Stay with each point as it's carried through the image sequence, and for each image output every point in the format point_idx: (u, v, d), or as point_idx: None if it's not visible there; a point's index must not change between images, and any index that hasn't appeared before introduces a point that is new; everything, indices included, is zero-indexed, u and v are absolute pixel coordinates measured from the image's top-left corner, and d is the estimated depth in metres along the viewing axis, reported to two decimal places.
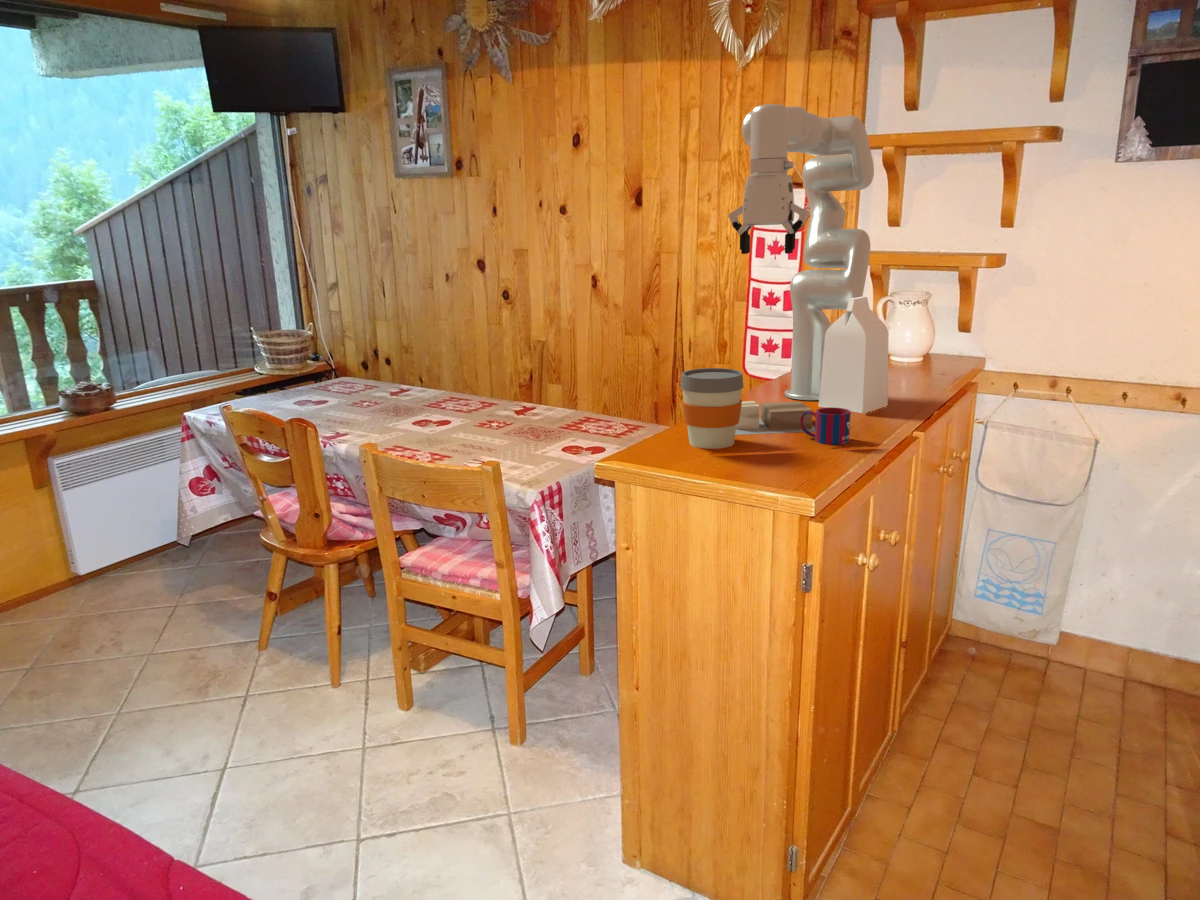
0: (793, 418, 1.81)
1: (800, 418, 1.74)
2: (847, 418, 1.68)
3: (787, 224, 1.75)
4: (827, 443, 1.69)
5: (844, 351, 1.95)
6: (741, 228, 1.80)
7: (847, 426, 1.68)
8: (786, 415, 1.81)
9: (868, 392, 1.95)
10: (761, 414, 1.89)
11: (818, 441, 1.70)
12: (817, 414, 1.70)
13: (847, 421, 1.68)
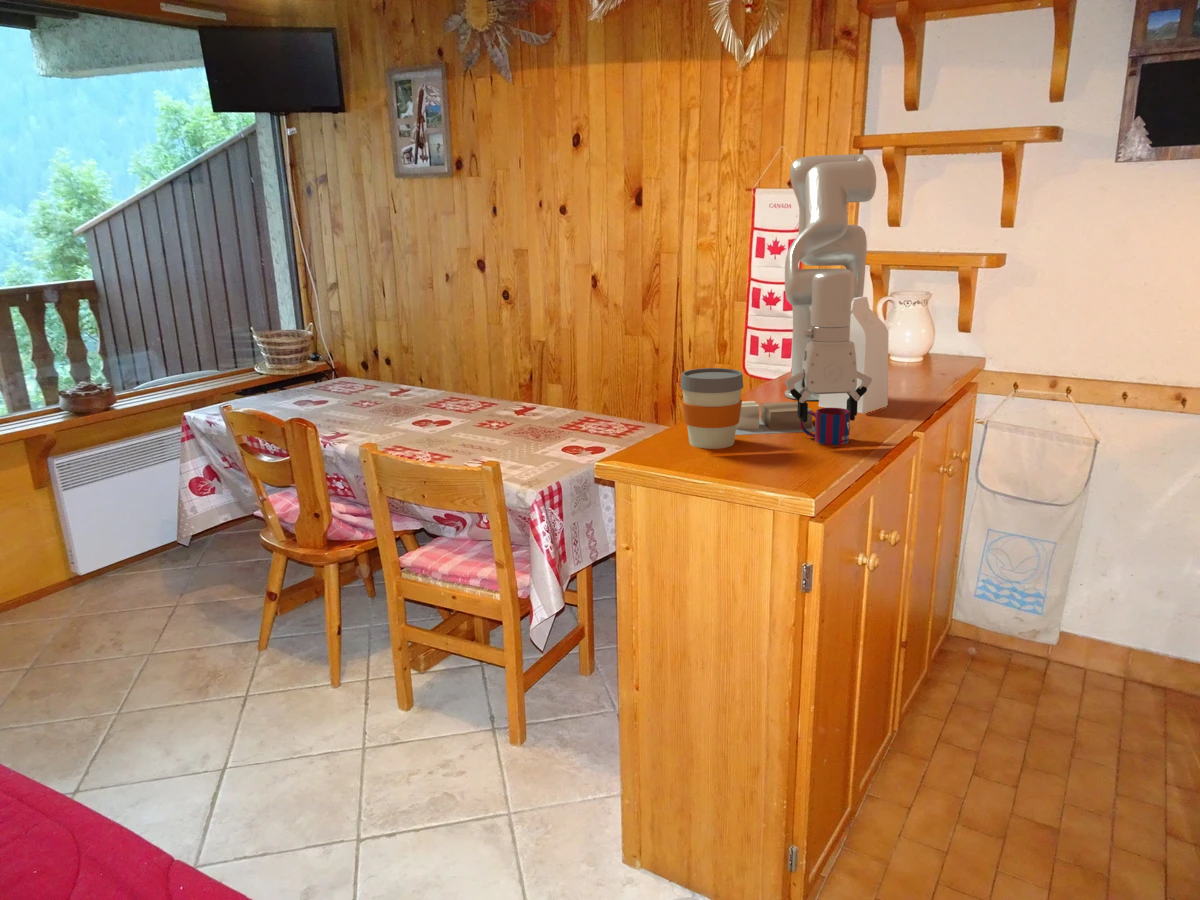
0: (793, 418, 1.81)
1: None
2: (847, 418, 1.68)
3: None
4: (826, 443, 1.69)
5: None
6: None
7: (847, 426, 1.68)
8: (786, 415, 1.81)
9: (868, 392, 1.95)
10: (761, 414, 1.89)
11: (818, 441, 1.70)
12: (817, 414, 1.70)
13: (847, 421, 1.68)
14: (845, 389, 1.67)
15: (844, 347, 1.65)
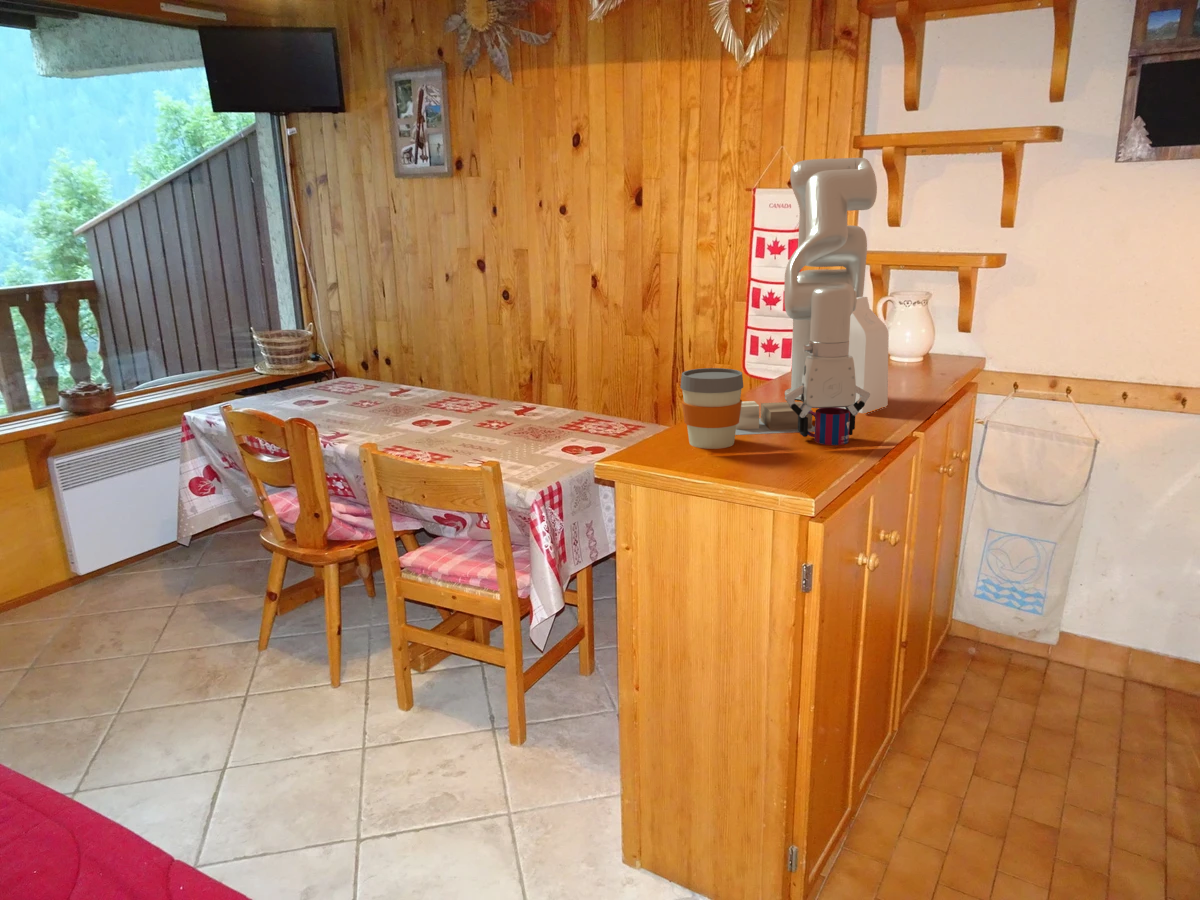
0: (793, 418, 1.81)
1: None
2: (847, 418, 1.68)
3: None
4: (826, 443, 1.69)
5: None
6: None
7: (847, 426, 1.68)
8: (786, 415, 1.81)
9: (868, 392, 1.95)
10: (761, 414, 1.89)
11: (818, 441, 1.70)
12: (817, 414, 1.70)
13: (847, 421, 1.68)
14: (844, 403, 1.68)
15: (843, 362, 1.66)
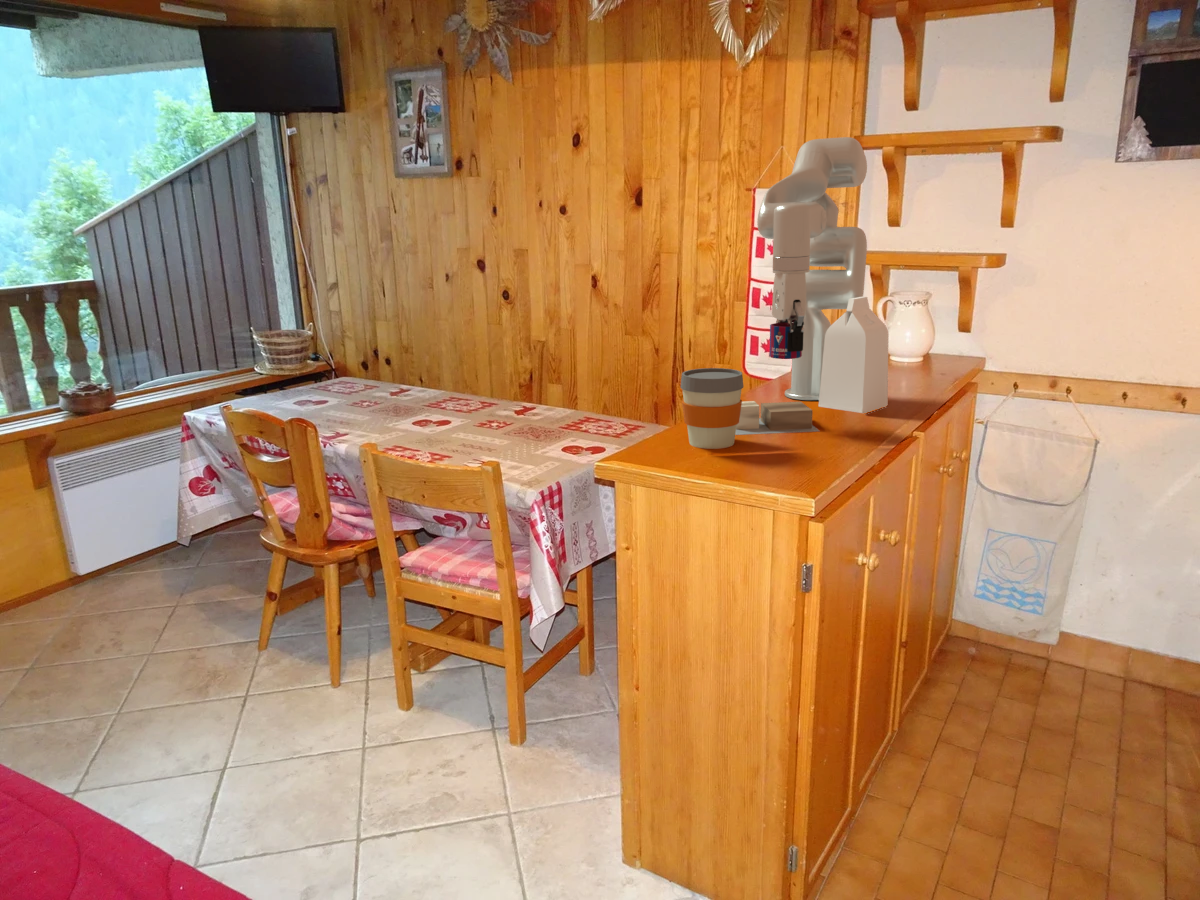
0: (793, 418, 1.81)
1: None
2: (776, 331, 1.77)
3: None
4: None
5: (844, 351, 1.95)
6: None
7: (776, 339, 1.78)
8: (786, 415, 1.81)
9: (868, 392, 1.95)
10: (761, 414, 1.89)
11: None
12: None
13: (776, 334, 1.77)
14: (780, 317, 1.77)
15: (781, 276, 1.75)
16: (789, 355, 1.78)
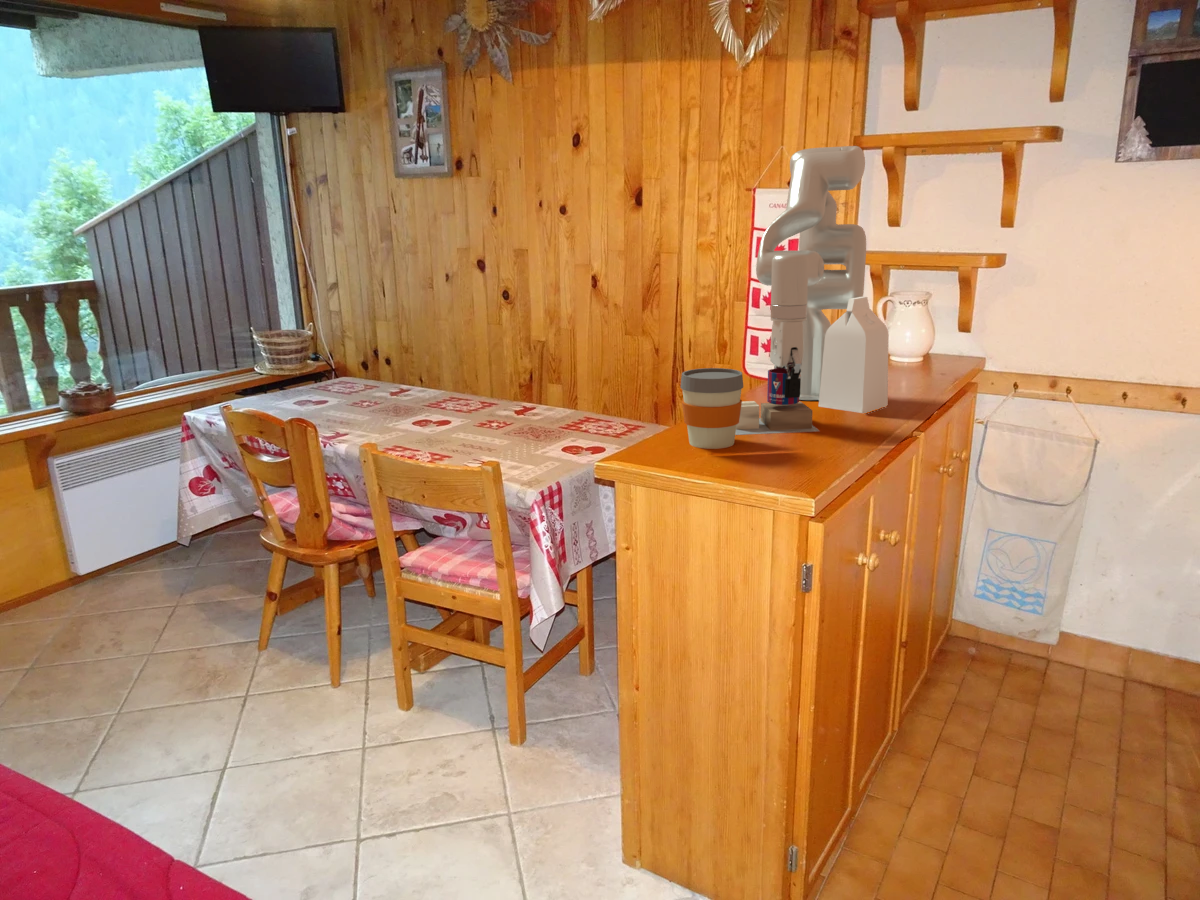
0: (793, 418, 1.81)
1: None
2: (773, 377, 1.80)
3: None
4: None
5: (844, 351, 1.95)
6: None
7: (774, 385, 1.80)
8: (786, 415, 1.81)
9: (868, 392, 1.95)
10: (761, 414, 1.89)
11: None
12: None
13: (773, 380, 1.80)
14: (777, 364, 1.80)
15: (779, 324, 1.78)
16: (786, 401, 1.80)
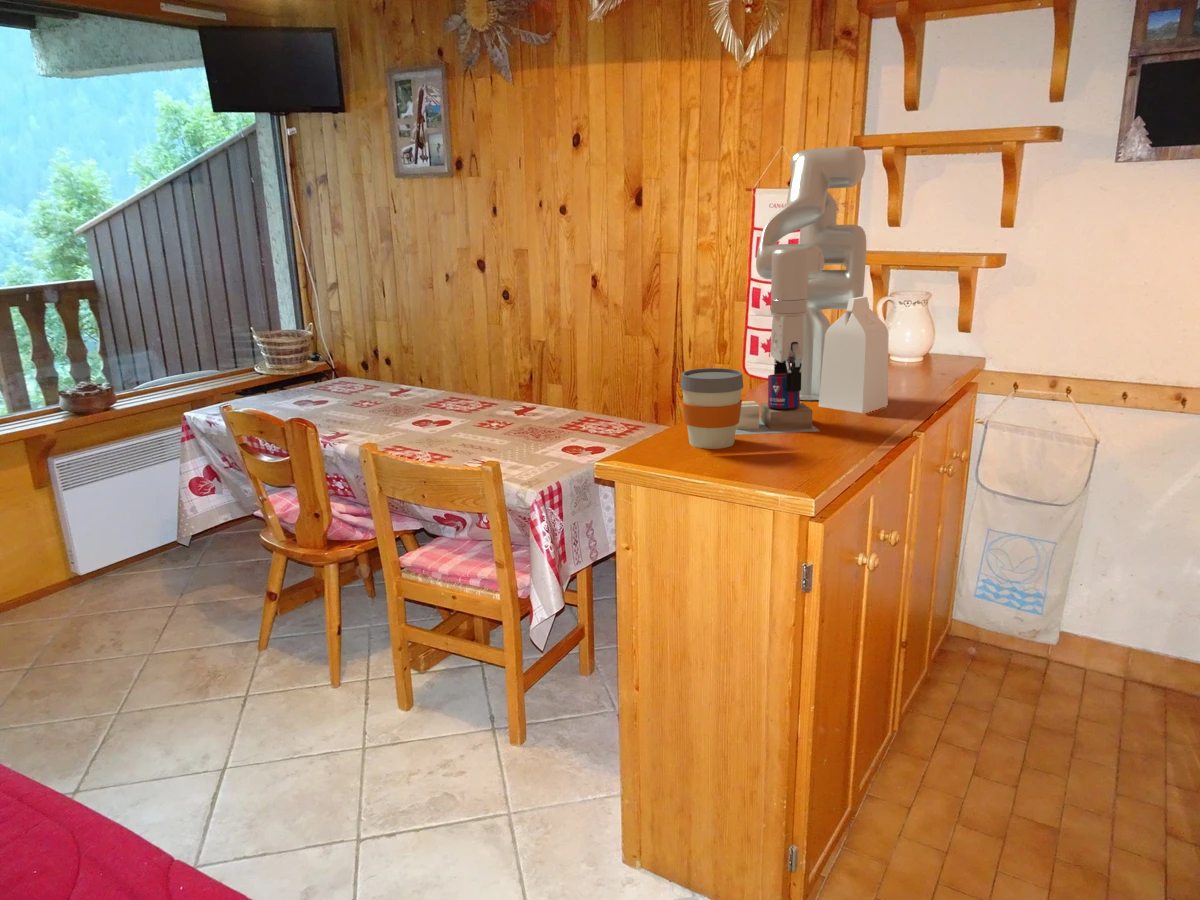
0: (793, 418, 1.81)
1: None
2: (773, 381, 1.81)
3: None
4: None
5: (844, 351, 1.95)
6: None
7: (773, 389, 1.81)
8: (786, 415, 1.81)
9: (868, 392, 1.95)
10: (761, 414, 1.89)
11: None
12: None
13: (773, 384, 1.81)
14: (778, 358, 1.80)
15: (779, 319, 1.78)
16: (786, 405, 1.80)
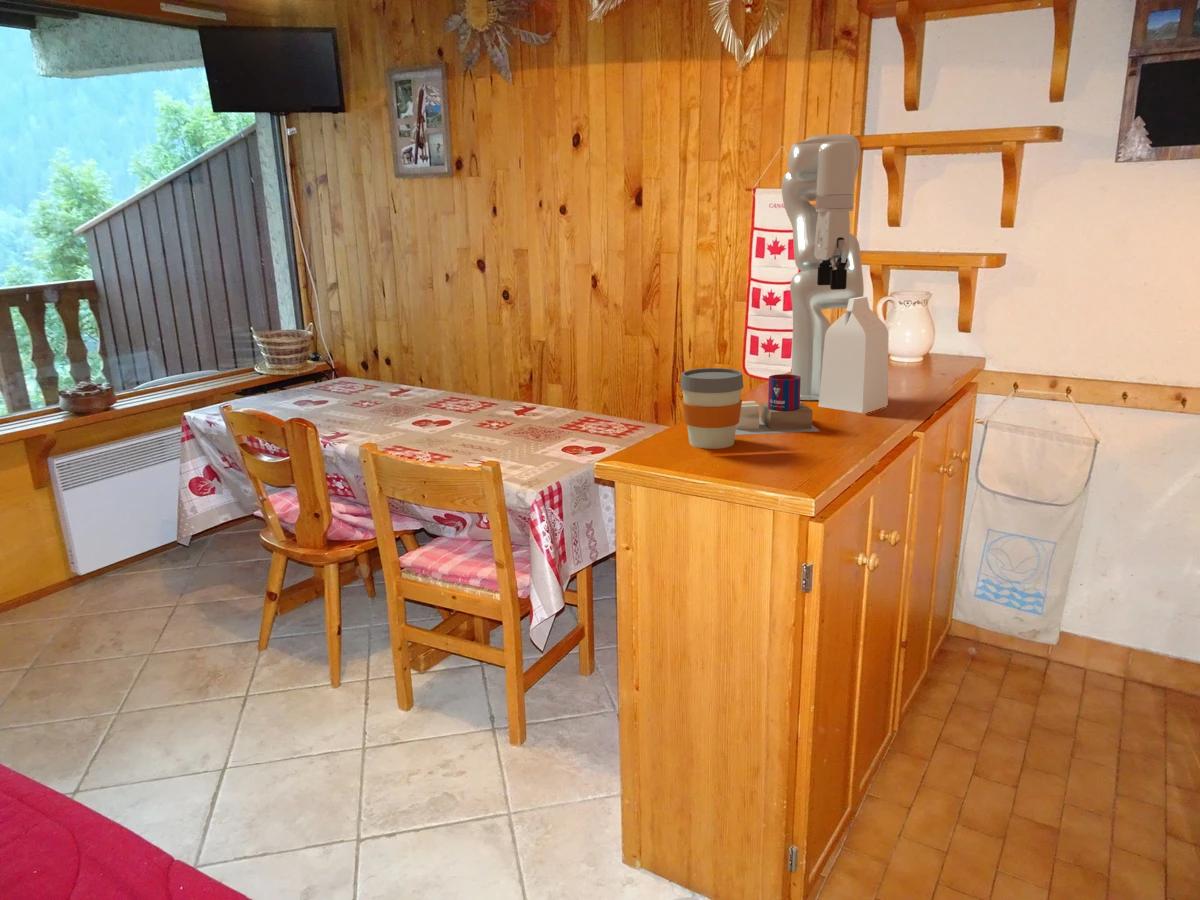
0: (793, 418, 1.81)
1: None
2: (774, 383, 1.80)
3: None
4: None
5: (844, 351, 1.95)
6: None
7: (774, 391, 1.81)
8: (786, 415, 1.81)
9: (868, 392, 1.95)
10: (761, 414, 1.89)
11: None
12: None
13: (774, 386, 1.81)
14: (823, 256, 1.77)
15: (824, 215, 1.75)
16: (786, 407, 1.80)
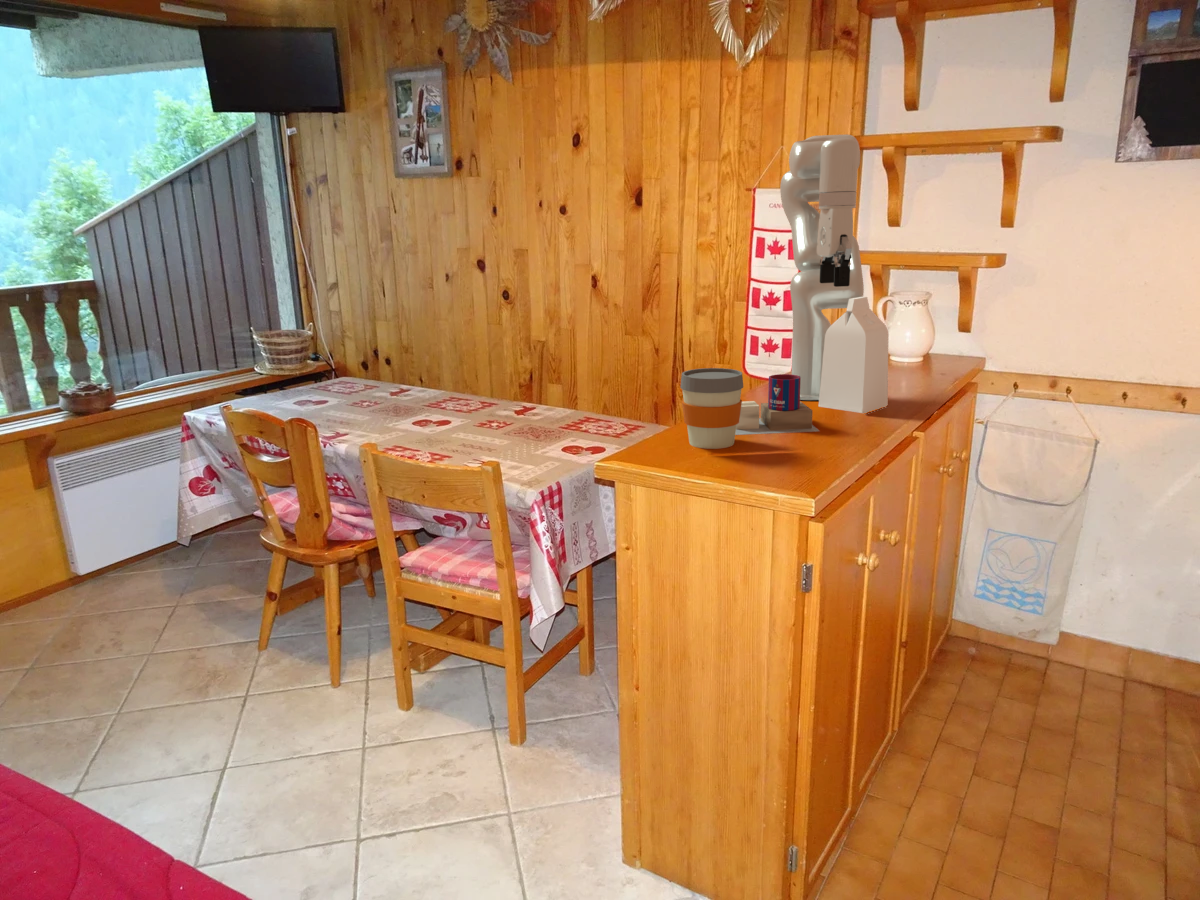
0: (793, 418, 1.81)
1: None
2: (774, 383, 1.80)
3: None
4: None
5: (844, 351, 1.95)
6: None
7: (774, 391, 1.81)
8: (786, 415, 1.81)
9: (868, 392, 1.95)
10: (761, 414, 1.89)
11: None
12: None
13: (774, 386, 1.81)
14: (826, 253, 1.77)
15: (827, 212, 1.75)
16: (786, 407, 1.80)
